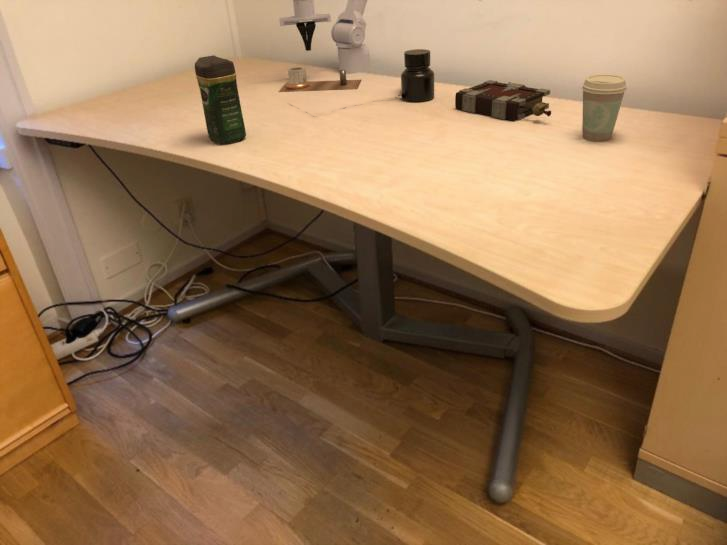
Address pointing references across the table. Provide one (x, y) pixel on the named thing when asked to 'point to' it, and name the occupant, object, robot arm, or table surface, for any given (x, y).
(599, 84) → the coffee cup
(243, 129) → the coffee jar
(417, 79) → the ink bottle
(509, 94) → the book
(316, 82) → the walnut board
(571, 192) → the table surface
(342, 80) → the stand rod
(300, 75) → the steel collar
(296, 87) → the hub
